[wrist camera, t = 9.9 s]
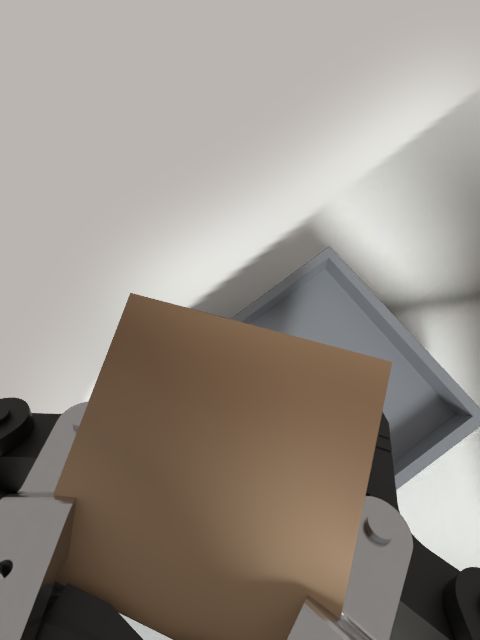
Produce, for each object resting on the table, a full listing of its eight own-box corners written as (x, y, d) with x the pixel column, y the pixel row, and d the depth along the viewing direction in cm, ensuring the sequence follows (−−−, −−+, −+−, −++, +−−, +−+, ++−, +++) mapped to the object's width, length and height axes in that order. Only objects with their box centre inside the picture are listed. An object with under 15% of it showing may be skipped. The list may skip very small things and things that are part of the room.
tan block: (297, 498, 14) (321, 713, 4) (192, 460, 15) (25, 566, 5) (324, 386, 15) (392, 361, 5) (224, 357, 16) (130, 292, 6)
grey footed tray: (320, 281, 29) (329, 246, 22) (437, 413, 25) (489, 418, 18) (140, 414, 28) (94, 418, 22) (229, 571, 24) (207, 633, 18)
